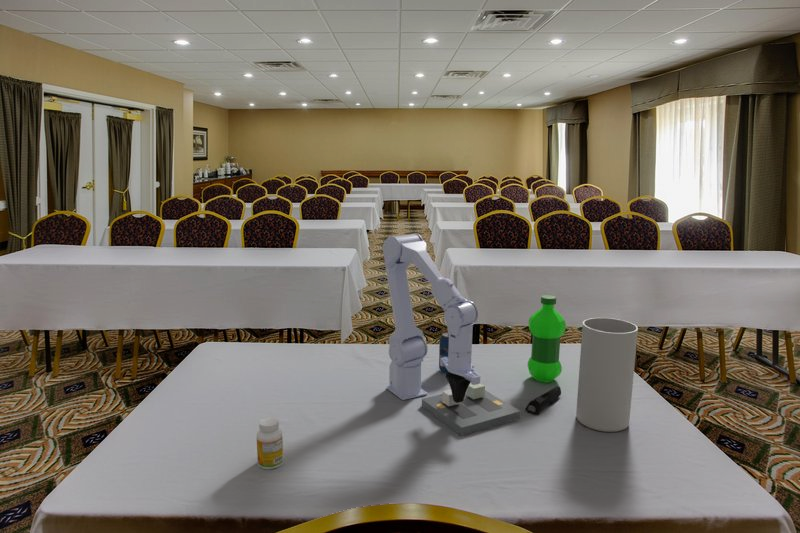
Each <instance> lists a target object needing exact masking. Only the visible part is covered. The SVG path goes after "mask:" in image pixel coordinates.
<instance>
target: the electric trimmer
mask: <svg viewBox="0 0 800 533" xmlns="http://www.w3.org/2000/svg"><path fill="white" fill-rule="evenodd" d="M561 395H562V390H561V387H560V386H559V385H557V386H554V387H553V388H552V389H550V390H548V391H547V392H545V393H543V394H541V395H539V396H537V397H536V398H534V399H532V400H530V401H529V402H528V404H527V405H526V406H525V410H524V411H525V413H528V414H531V415H534V416H536V415H537V416H538V415H539V414H540V413H541V410H542V409H543V408H544V407H546V406H547V405H549V404H551V405H553V404H554V403H555V402H556V400H558V399H559V397H560V396H561Z"/></svg>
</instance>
